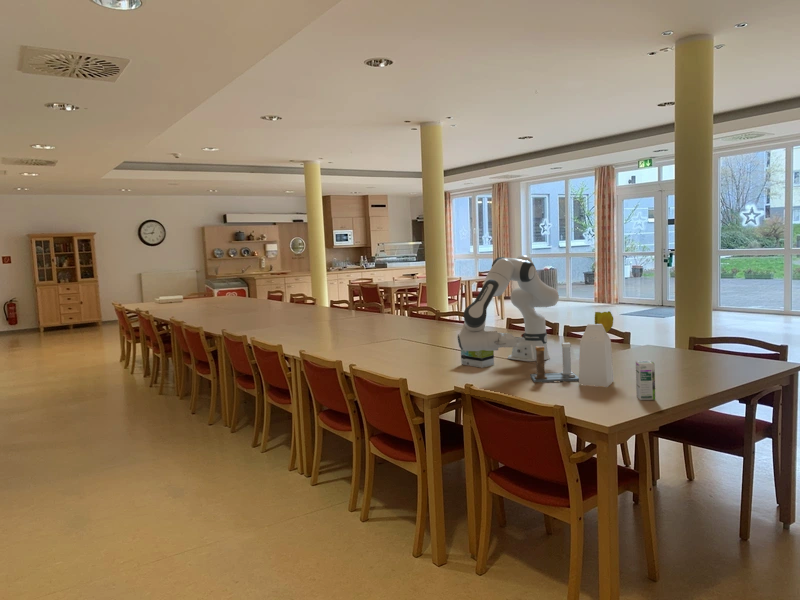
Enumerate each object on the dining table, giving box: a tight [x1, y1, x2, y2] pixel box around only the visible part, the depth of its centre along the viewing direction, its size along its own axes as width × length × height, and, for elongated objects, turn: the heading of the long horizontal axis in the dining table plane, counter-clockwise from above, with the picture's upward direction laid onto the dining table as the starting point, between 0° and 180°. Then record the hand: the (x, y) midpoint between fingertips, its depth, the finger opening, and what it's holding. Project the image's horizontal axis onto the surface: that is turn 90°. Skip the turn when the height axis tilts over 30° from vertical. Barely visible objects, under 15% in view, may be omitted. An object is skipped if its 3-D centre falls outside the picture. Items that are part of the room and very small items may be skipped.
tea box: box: [460, 348, 495, 369], centre depth 308 cm, size 15×10×15 cm, turn 42°
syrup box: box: [635, 360, 656, 401], centre depth 227 cm, size 6×6×14 cm
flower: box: [594, 310, 614, 333], centre depth 267 cm, size 9×8×30 cm
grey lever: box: [560, 342, 574, 375], centre depth 270 cm, size 5×4×14 cm
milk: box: [578, 323, 615, 388], centre depth 255 cm, size 12×12×26 cm
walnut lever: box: [535, 346, 547, 379], centre depth 265 cm, size 5×4×14 cm
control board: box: [529, 372, 579, 384], centre depth 268 cm, size 20×13×2 cm, turn 86°
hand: (524, 339), depth 264 cm, fingers closed
